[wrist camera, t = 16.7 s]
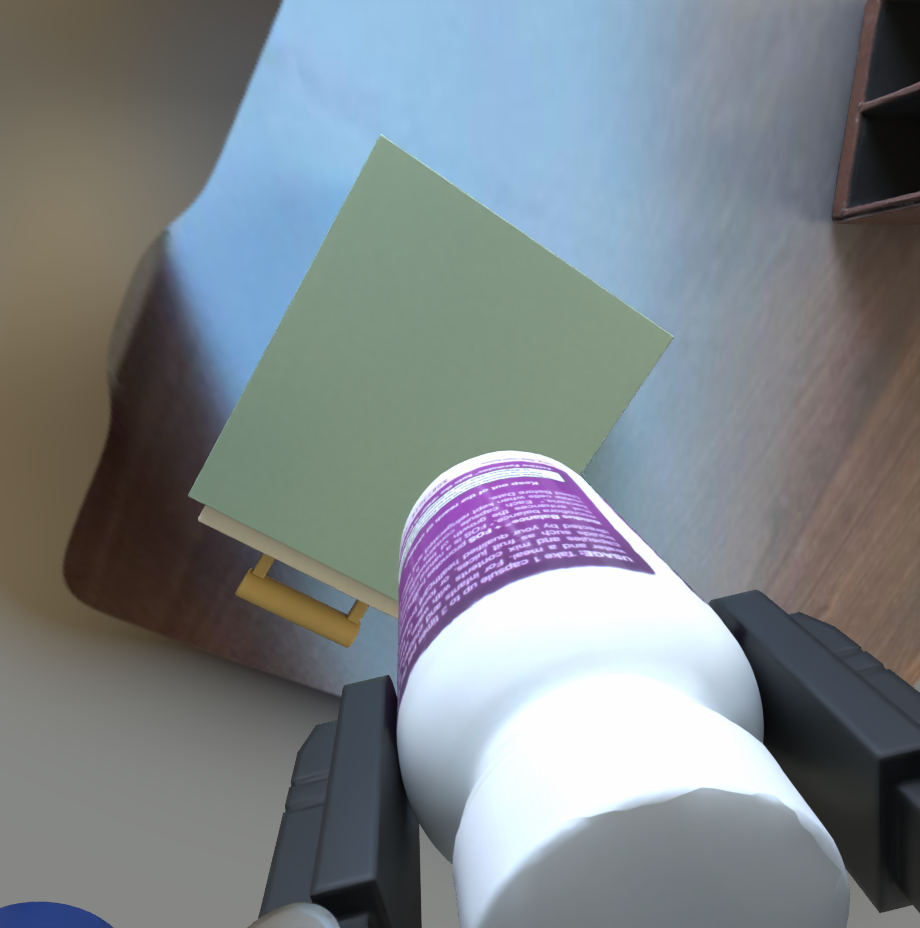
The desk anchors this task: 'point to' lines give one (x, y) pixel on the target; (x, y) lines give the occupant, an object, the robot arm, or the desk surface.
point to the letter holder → (883, 121)
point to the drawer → (290, 600)
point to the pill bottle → (587, 722)
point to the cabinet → (417, 370)
